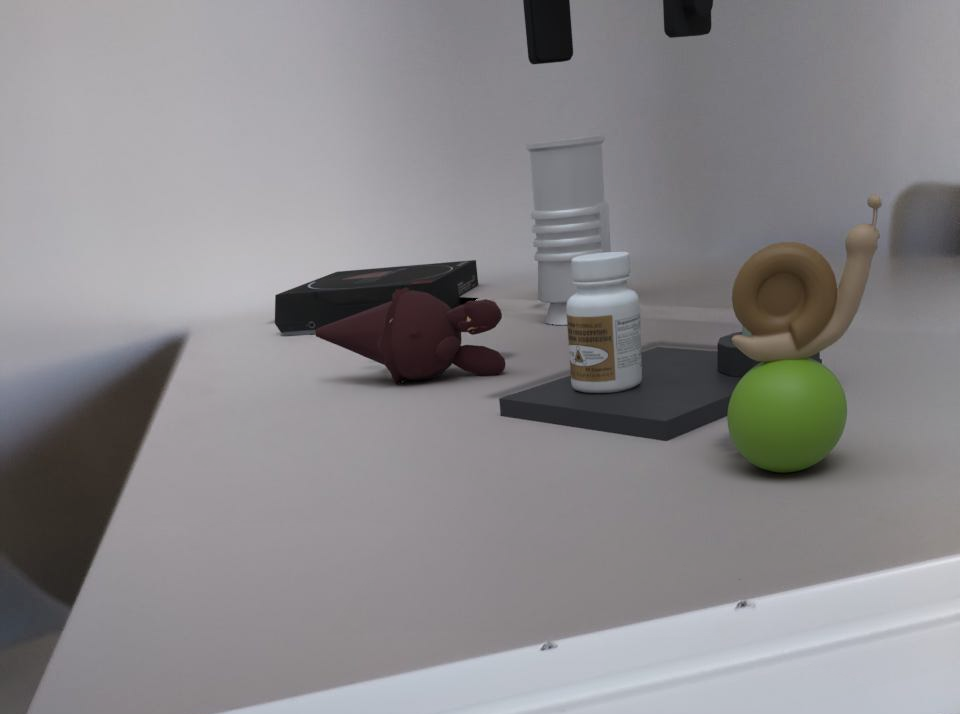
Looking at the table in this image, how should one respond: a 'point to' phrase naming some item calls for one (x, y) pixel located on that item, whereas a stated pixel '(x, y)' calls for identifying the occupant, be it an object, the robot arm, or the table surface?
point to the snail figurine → (794, 348)
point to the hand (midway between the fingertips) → (616, 49)
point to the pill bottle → (603, 325)
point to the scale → (645, 395)
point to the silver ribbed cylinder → (566, 214)
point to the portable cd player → (368, 293)
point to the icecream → (419, 336)
